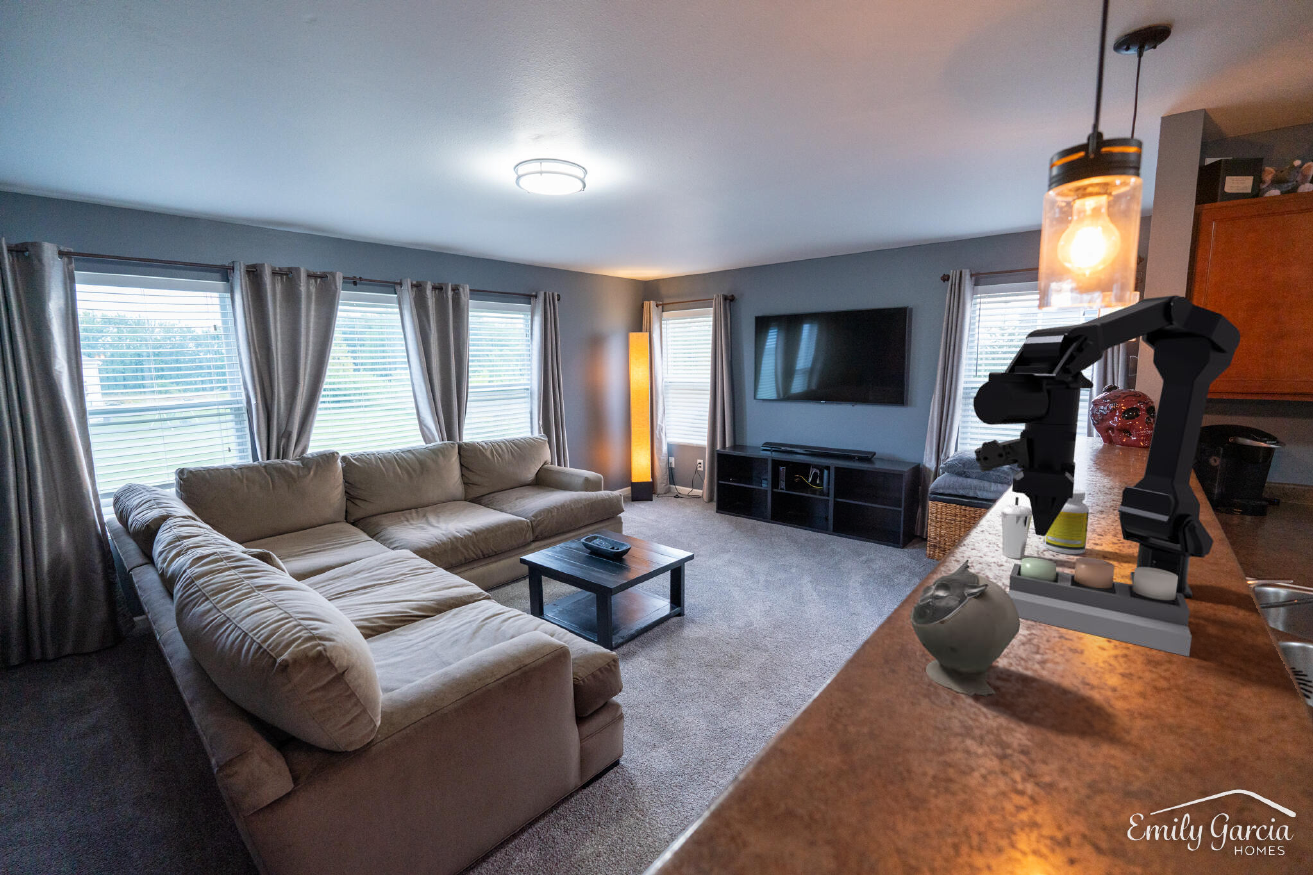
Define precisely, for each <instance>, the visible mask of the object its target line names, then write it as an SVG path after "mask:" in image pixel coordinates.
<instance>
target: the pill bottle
mask: <svg viewBox="0 0 1313 875" xmlns="http://www.w3.org/2000/svg"><path fill="white" fill-rule="evenodd" d="M1085 499H1086V492H1085V491H1084V490H1081V489H1077V488H1074V490H1073V498H1070V499H1068V501H1067V502H1066V504H1065V505H1064V507H1063V509H1062V510H1061V512H1060V513H1059V515H1058V516H1057V518H1056V519H1055V521H1054V523H1053V524H1052V526H1051V527H1050V529H1049V531H1048V532H1047V534H1046V535H1045V536H1043V541H1042V542H1043V543H1042V544H1043V547H1044V548H1046V549H1047V550H1049V551H1052V552H1056V553H1059V554H1060V553H1061V554H1065V555H1066V554H1067V555H1081V554H1084V553H1085V552H1086V545H1087V535H1088V525H1089V516H1090V515H1089V514H1090V513H1089V512H1090V509H1089V506H1088V505H1087V504H1086V503H1084V501H1085Z"/></svg>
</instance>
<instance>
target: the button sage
mask: <svg viewBox="0 0 1313 875" xmlns="http://www.w3.org/2000/svg"><path fill="white" fill-rule="evenodd" d="M1020 564H1021V574H1020V576H1023V577H1028V578H1033V579H1038V580H1044V581H1049V582H1054V583H1055V578H1056V571H1057V567H1058V566H1057V564H1056V563H1054V561H1050V560H1048V559H1047V560H1046V559H1043V558H1038V557H1024V558H1022V559H1021V563H1020Z"/></svg>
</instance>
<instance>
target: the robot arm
mask: <svg viewBox="0 0 1313 875" xmlns="http://www.w3.org/2000/svg"><path fill="white" fill-rule="evenodd" d="M1139 337H1141V341H1142V342H1144V344H1146V345H1147V346H1148V347H1150V348H1151V349H1152V350H1153V354H1152V363H1153V366H1154V367H1155V369H1156V371H1157V372H1158V374H1159V377H1161V378H1160V379H1161V380H1162V387H1161V390H1160V397H1159V401H1158V406H1157V409H1156V410H1157V411H1156V416H1155V420H1154V425H1153V431H1152V435H1151V440H1150V444H1149V450H1148V455H1147V458H1146V459H1147V460H1146V464H1145V470H1144V474H1143V476H1142V478H1141V479H1140V480H1138V481H1137V483H1135V484H1134V485H1133V486H1129V485H1126V486H1125V487H1124V488H1123V490H1122V493H1121V494H1122V495H1121V502H1120V506H1119V507H1118V509H1117V512H1118V518H1119V523H1120V529H1121V535H1122V540H1124V541H1128V542H1129V541H1130V542H1133V543H1137V544H1138V549H1137V551H1138V552H1137V558H1136V567H1135V568H1137V567H1149V568H1156V569H1161V570H1165V571H1168V572H1171V573H1174V574H1175V575H1177V576H1178V580H1177V588H1176V593H1181V594H1183V596H1184V597H1186V598H1192V597H1193V592H1192V590H1191V588H1190V586H1189V584H1188V574H1189V567H1190V561H1191V560H1190V559H1191V557H1193V558H1199V559H1200V558H1203V559H1204V558H1205V557H1206V556H1207V555H1210V552H1211V550H1212V547H1213V544H1214V539H1213V538H1212V536H1211V534H1210V533H1209V531H1208V530H1207V529H1206V528H1205V526H1204V525H1203V523H1202V522H1201V520H1200V512H1201V503H1200V501H1199V499H1198V498H1197V495H1196V494H1195V492H1194V490H1193V488H1192V486H1191V485H1190V480H1191V476H1192V471H1193V466H1194V461H1195V456H1196V453H1197V448H1198V442H1199V439H1200V433H1201V428H1202V423H1203V419H1204V415H1205V414H1204V413H1205V409H1206V405H1207V400H1208V396H1209V391H1210V386H1211V384H1212V383H1213V382H1214V381H1216V379H1217V378H1219V377H1220V376H1221V375H1222V374H1223V373H1224V372H1225V371H1226V370H1227V369H1228V368H1230V366H1231V364H1232V361H1233V359H1234V355H1235V353H1236V350H1237V349H1238V347H1239V345H1240V343H1241V332H1240V330H1239V329H1238V327H1236V326H1235V324H1233V323H1232V322H1231V321H1230V320H1229V319H1227V318H1226V317H1225V316H1224V315H1223V314H1221V313H1219V312H1216V311H1213V310H1211V309H1208V308H1205V307H1202V306H1199V305H1196V304H1194V303H1193V302H1191V301H1190V299H1188V298H1187V297H1185V296H1180V295H1176V294H1174V295H1166V296H1155V297H1147V298H1143V299H1142V300H1139V301H1137V302H1136V303H1135V304H1131V305H1129V306H1126V307H1123V308H1120V309H1117V310H1115V311H1113V312H1110V313H1106V314H1105V315H1104V314H1103V315H1102V316H1098V317H1095V318H1093V319H1091V320H1088V321H1085V322H1082V323H1080V324H1079V323H1078V324H1071V325H1063V326H1055V327H1048V328H1047V327H1046V328H1040V329H1034V330H1032V331H1031V332H1029V333H1028V334H1027V335H1026V336H1025V342H1023V344H1022V345H1021V347H1020V348H1019V350H1018V351H1017V353H1016V354H1015V356H1014V357H1013V358H1012V359H1011V361H1010V363H1009V365H1008V366H1007V367H1006V369H1005V370H1004V371H1003V372H1002V371H1000V372H999V371H998V372H997V371H993V372H992V371H991V372H989V373H988V378H987V381H986V382H985V383H983V384H982V385H981V386H979V388H978V390H977V391H976V394H975V395H974V397H973V402H972V403H973V410H974V413H975V415H976V417H977V418H978V419H979V421H981V422H982V423H984V424H986V425H990V426H994V425H996V426H997V425H1017V424H1019V425H1020V424H1021V425H1022V424H1024V428H1023V429H1022V431H1020V434H1019V438H1014V439H1009V440H1005V441H1001V442H999V441H998V440H997V439H993V440H991V441H984V442H982V445H981V446H979V447H977V448H976V449H975V450H974V454H975V461H976V463H977V464H978V467H979V469H980V473H981V472H984V473H985V472H990V471H992V470H993V469H997V468H1001V467H1007V466H1012V465H1015V464H1017V465H1016V468H1017V469H1020V470H1018V471H1017V472H1016V473H1015V474H1014V475H1013V477H1012V487H1011V492H1013V493H1016V494H1023V495H1024V496H1026V498H1028V501H1029V505H1030V509H1031V511H1032V522H1033V526H1034V533H1035V534H1034V535H1036V536H1041V537H1044V536H1045V535H1046V534H1047V532H1048V531H1049V529H1050V527H1051V526H1052V524H1053V523H1054V521H1055V519H1056V518H1057V516H1058V515H1059V513H1060V512H1061V510H1062V509H1063V507H1064V505H1065V504H1066V502H1067V501H1068V499H1070V498H1073V490H1074V489H1075V473H1076V462H1075V454H1076V453H1075V451H1076V440H1077V434H1078V423H1079V411H1080V401H1081V391H1082V389H1088V390H1089V389H1090V390H1091V389H1092V388H1094V383H1093V382H1092V381H1091V380H1090V379H1089V378H1088V377H1086V376H1085V375H1084V373H1083V371H1084V370H1086V369H1088V368H1090V367H1091V366H1093V365H1094V364H1095V363H1098V362H1099V361H1100V360H1102V359H1103V357H1104V353H1105V352H1106V351H1108V350H1109V349H1111V348H1114V347H1116V346H1120V345H1122V344H1125V343H1127V342H1130V341H1132V340H1135V339H1137V338H1139ZM1134 573H1135V571H1130V574H1129V575H1130V578H1131V584H1132V585H1133V582H1134Z"/></svg>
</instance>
